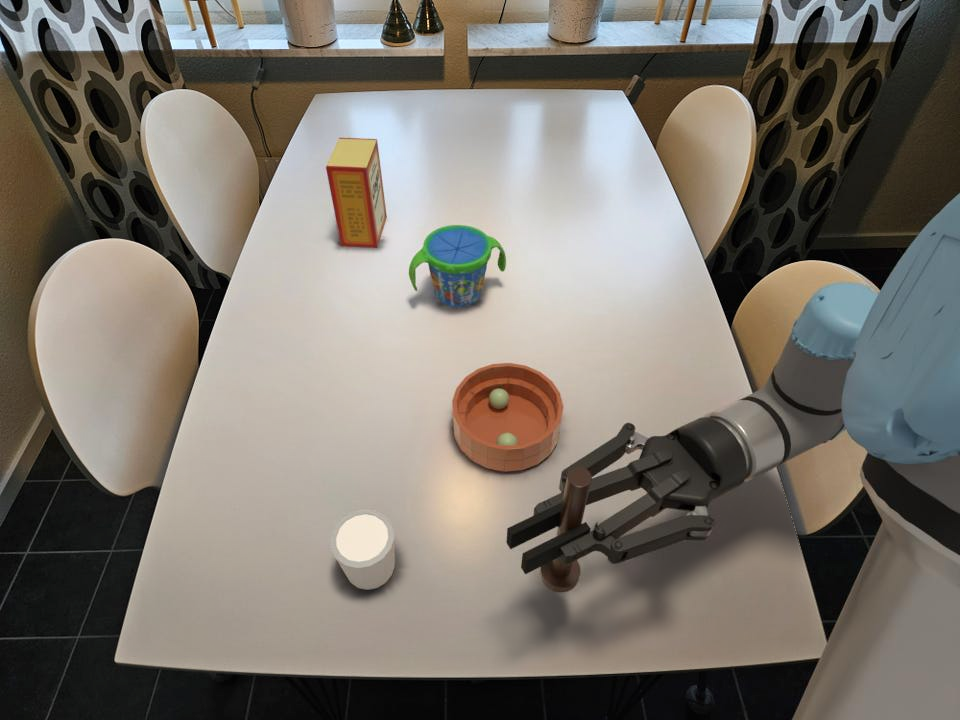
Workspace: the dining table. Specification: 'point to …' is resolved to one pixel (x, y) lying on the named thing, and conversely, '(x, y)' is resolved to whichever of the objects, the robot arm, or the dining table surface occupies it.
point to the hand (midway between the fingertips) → (516, 551)
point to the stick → (571, 516)
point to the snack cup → (457, 263)
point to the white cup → (364, 548)
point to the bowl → (507, 416)
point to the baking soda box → (357, 191)
